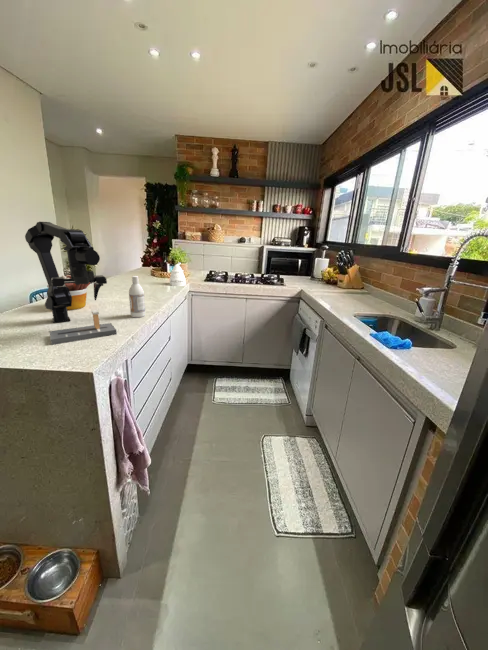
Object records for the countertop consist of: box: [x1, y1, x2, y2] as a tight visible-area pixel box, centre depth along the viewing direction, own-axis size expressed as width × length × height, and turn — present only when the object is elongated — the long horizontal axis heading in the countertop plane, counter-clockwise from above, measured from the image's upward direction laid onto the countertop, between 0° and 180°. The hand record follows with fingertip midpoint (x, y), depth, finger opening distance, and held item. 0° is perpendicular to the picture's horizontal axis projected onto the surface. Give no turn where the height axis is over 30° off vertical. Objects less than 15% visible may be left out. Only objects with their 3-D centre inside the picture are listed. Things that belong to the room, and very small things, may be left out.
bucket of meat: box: [46, 273, 91, 311], centre depth 139 cm, size 20×16×20 cm
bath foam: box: [128, 275, 146, 318], centre depth 131 cm, size 7×7×20 cm
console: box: [48, 322, 118, 346], centre depth 106 cm, size 10×22×2 cm, turn 127°
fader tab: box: [91, 309, 100, 329], centre depth 107 cm, size 3×2×7 cm, turn 37°
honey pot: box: [169, 262, 187, 287], centre depth 217 cm, size 13×13×18 cm
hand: (82, 301), depth 110 cm, fingers open, 9 cm apart
